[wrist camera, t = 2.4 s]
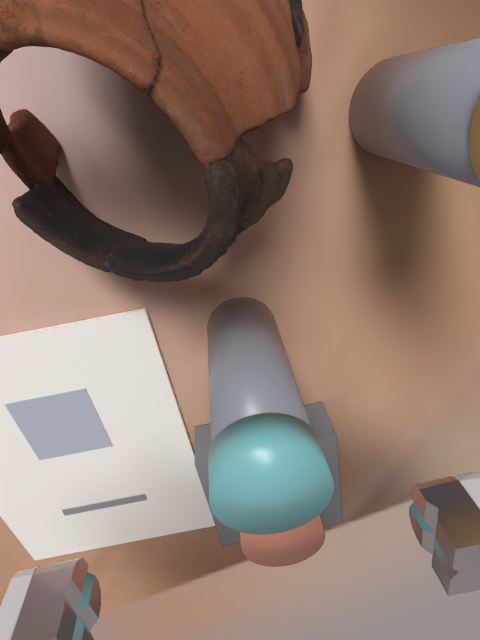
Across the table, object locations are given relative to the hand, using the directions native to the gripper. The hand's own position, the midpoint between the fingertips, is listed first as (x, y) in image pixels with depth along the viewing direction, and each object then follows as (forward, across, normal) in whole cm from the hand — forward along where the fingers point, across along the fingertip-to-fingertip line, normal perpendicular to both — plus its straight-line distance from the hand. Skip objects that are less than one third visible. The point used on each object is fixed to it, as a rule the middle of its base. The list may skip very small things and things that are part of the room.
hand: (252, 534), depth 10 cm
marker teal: (+10, -1, 0) cm, 10 cm away
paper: (+10, +9, +6) cm, 15 cm away
